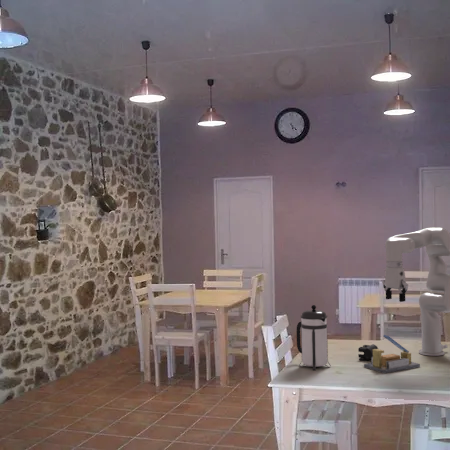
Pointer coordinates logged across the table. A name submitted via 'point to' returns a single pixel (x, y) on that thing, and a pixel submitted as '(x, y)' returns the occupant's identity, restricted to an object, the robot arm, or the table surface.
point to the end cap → (366, 352)
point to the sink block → (390, 362)
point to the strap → (396, 344)
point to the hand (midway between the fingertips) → (395, 300)
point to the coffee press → (313, 338)
